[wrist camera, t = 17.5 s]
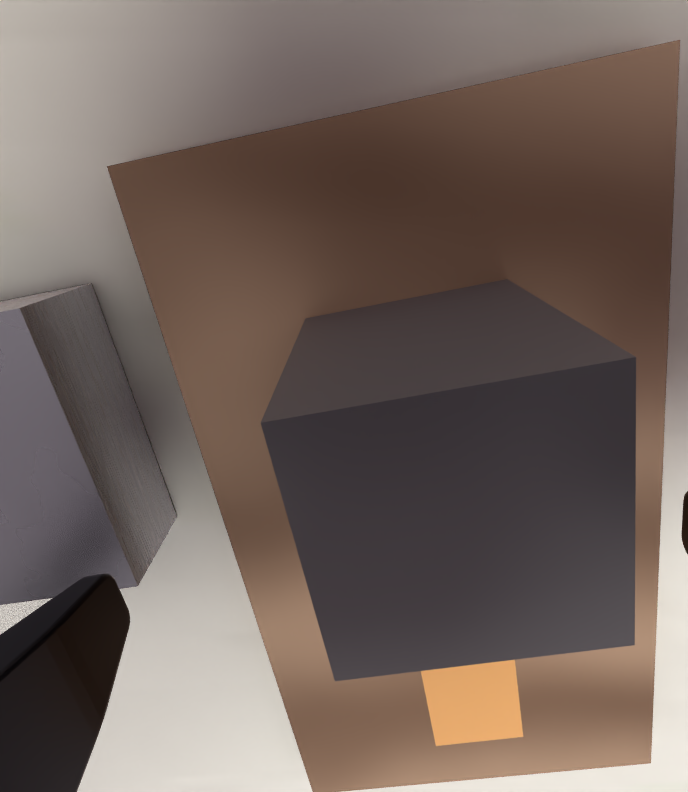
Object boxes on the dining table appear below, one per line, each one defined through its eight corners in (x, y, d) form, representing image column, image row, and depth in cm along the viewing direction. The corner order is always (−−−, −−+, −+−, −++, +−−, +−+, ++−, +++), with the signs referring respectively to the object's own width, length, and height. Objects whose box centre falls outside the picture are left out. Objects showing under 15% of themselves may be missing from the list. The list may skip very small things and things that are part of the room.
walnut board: (636, 735, 16) (650, 763, 15) (315, 767, 17) (313, 794, 16) (654, 52, 9) (679, 39, 8) (125, 168, 10) (106, 166, 9)
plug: (539, 657, 13) (633, 902, 9) (389, 675, 14) (403, 919, 9) (506, 278, 10) (635, 356, 5) (305, 318, 10) (260, 423, 6)
